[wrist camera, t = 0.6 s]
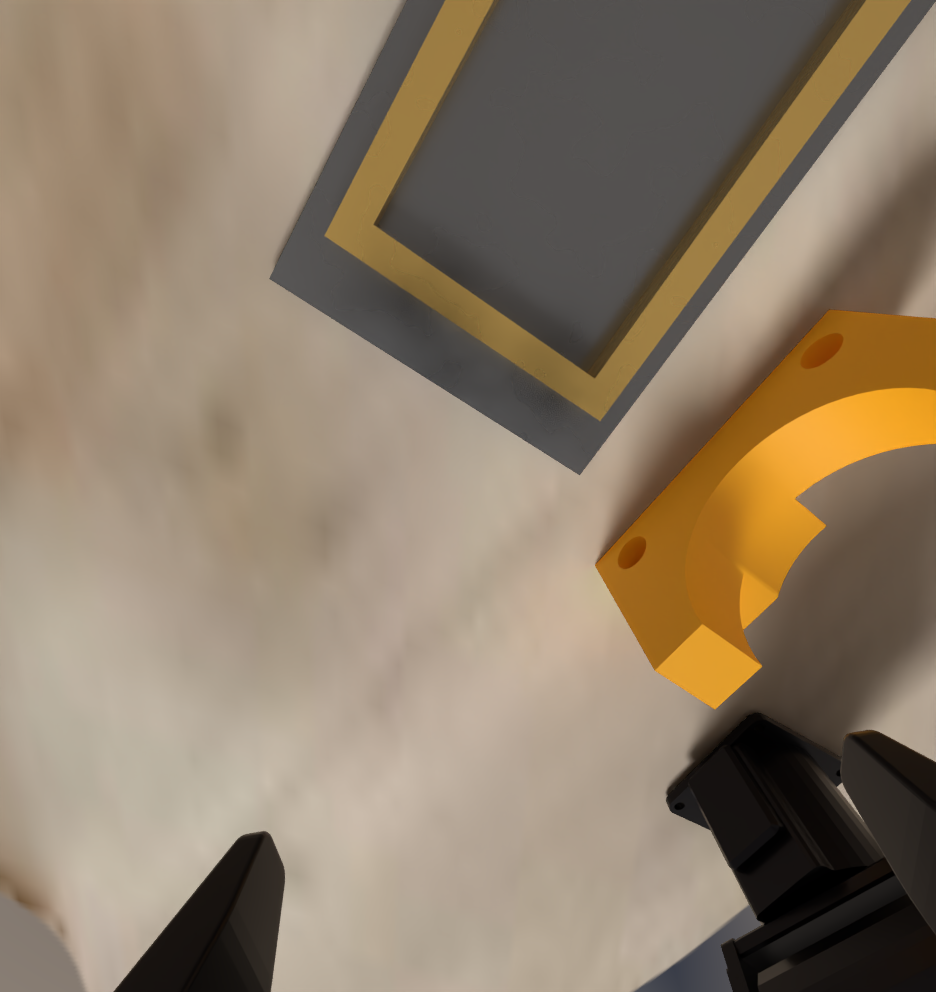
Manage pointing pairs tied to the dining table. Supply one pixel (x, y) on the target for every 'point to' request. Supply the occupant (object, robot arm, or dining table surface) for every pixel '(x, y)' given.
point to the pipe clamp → (766, 493)
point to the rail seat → (571, 187)
